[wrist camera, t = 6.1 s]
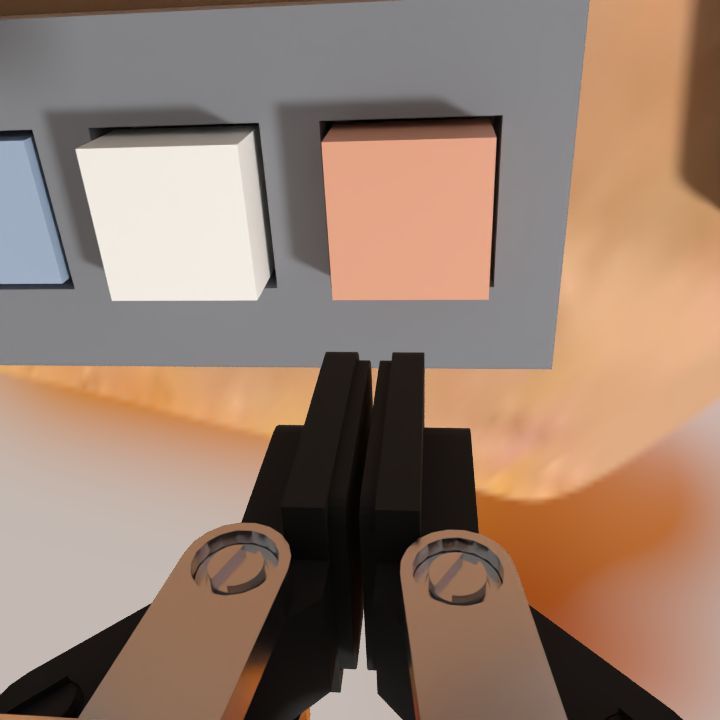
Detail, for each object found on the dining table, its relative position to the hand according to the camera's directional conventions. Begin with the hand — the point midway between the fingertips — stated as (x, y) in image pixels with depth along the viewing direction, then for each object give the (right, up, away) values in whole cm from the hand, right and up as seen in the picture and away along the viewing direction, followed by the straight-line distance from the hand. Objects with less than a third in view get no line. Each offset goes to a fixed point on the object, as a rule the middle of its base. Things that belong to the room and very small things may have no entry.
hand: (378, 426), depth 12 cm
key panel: (-6, +8, +15) cm, 18 cm away
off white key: (-6, +7, +12) cm, 15 cm away
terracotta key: (+1, +7, +12) cm, 13 cm away
